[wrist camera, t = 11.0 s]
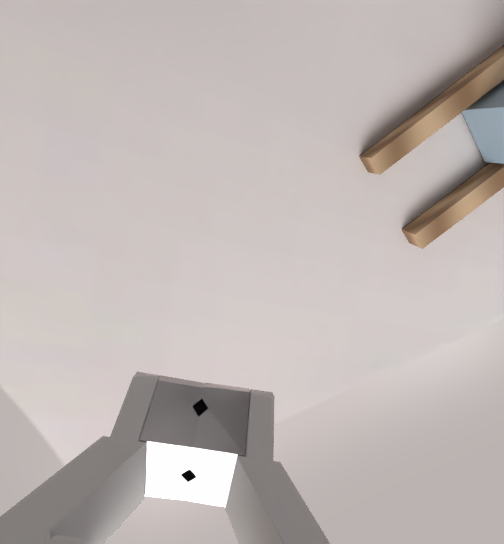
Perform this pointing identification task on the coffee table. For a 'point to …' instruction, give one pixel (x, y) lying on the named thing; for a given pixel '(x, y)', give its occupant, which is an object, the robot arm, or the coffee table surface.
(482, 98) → the block
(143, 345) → the coffee table surface
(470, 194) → the brown flat open frame
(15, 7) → the coffee table surface
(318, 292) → the coffee table surface
